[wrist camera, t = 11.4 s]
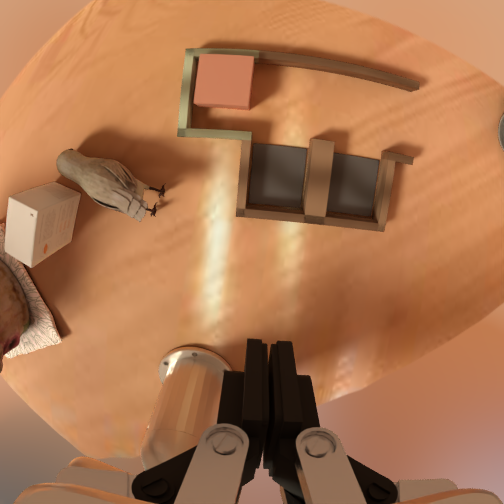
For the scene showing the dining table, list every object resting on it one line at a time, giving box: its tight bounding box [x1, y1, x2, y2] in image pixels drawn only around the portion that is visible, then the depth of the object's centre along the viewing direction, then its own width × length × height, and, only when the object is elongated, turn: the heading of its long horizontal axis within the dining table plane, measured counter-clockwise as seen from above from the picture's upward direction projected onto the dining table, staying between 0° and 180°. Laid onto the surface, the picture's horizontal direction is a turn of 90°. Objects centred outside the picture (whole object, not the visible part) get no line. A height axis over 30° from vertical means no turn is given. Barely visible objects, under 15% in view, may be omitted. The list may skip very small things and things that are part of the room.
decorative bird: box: [57, 149, 166, 222], centre depth 34 cm, size 5×16×8 cm, turn 62°
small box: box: [4, 182, 81, 268], centre depth 34 cm, size 8×6×10 cm
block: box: [194, 54, 255, 110], centre depth 32 cm, size 6×6×4 cm
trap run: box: [177, 48, 419, 232], centre depth 34 cm, size 20×28×2 cm
